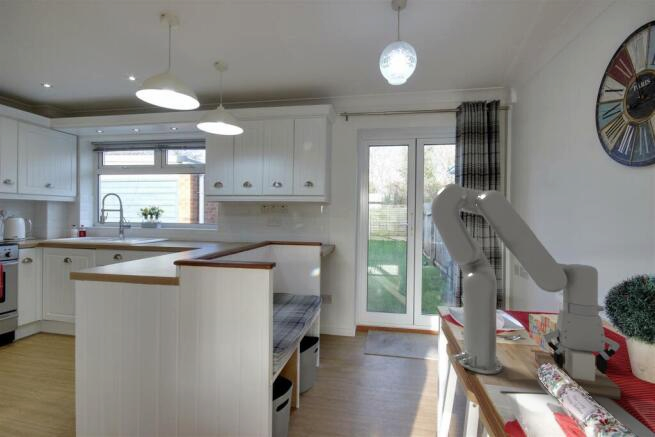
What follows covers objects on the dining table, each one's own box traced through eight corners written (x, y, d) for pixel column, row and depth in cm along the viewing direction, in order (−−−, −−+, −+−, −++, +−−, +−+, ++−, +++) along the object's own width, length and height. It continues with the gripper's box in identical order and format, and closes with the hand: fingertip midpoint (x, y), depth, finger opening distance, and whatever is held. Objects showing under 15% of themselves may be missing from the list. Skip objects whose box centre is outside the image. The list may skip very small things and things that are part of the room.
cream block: (595, 381, 81) (595, 355, 81) (572, 378, 83) (572, 353, 83) (586, 372, 86) (586, 348, 86) (565, 369, 88) (565, 345, 88)
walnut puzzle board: (620, 399, 78) (620, 388, 78) (556, 389, 83) (556, 378, 83) (586, 366, 95) (586, 357, 95) (535, 359, 100) (535, 350, 99)
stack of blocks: (528, 336, 119) (528, 306, 119) (546, 337, 118) (546, 306, 117) (559, 362, 98) (559, 325, 98) (581, 364, 97) (581, 326, 96)
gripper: (610, 307, 85) (610, 367, 85) (539, 302, 91) (539, 358, 91) (627, 316, 78) (626, 381, 78) (548, 309, 84) (548, 370, 84)
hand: (579, 368), depth 84 cm, fingers open, 9 cm apart
